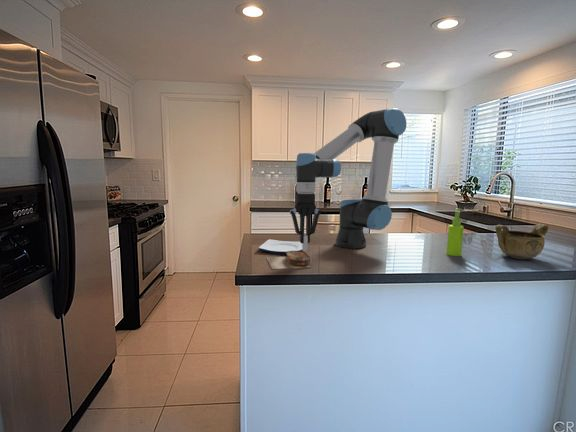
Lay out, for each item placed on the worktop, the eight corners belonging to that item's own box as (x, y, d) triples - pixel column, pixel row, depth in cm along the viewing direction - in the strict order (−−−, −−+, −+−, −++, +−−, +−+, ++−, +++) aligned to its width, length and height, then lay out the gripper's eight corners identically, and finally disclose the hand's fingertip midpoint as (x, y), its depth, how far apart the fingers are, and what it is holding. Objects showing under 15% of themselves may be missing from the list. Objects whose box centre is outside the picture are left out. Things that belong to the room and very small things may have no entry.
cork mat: (300, 256, 144) (300, 256, 144) (310, 267, 129) (310, 267, 129) (266, 258, 141) (266, 257, 141) (272, 269, 125) (272, 268, 125)
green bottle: (460, 253, 154) (464, 210, 151) (461, 256, 148) (465, 212, 145) (446, 251, 156) (450, 209, 153) (446, 255, 150) (450, 211, 147)
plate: (300, 257, 145) (301, 251, 144) (255, 254, 149) (255, 248, 148) (307, 246, 165) (307, 241, 164) (267, 243, 168) (267, 238, 168)
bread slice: (312, 260, 129) (291, 259, 127) (311, 267, 129) (290, 267, 128) (304, 250, 144) (284, 249, 142) (303, 257, 144) (284, 256, 142)
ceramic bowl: (527, 252, 157) (530, 221, 155) (559, 263, 140) (564, 227, 138) (482, 253, 155) (485, 221, 153) (509, 263, 138) (513, 227, 136)
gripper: (291, 193, 127) (291, 254, 131) (324, 193, 130) (322, 252, 133) (287, 192, 134) (287, 249, 138) (318, 191, 137) (317, 247, 141)
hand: (304, 250), depth 136 cm, fingers closed
